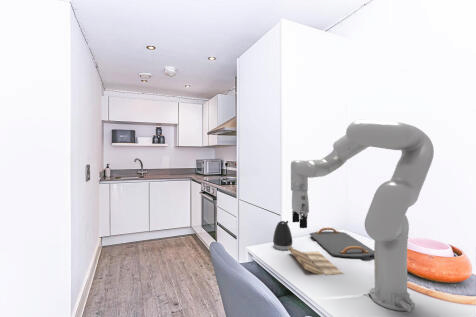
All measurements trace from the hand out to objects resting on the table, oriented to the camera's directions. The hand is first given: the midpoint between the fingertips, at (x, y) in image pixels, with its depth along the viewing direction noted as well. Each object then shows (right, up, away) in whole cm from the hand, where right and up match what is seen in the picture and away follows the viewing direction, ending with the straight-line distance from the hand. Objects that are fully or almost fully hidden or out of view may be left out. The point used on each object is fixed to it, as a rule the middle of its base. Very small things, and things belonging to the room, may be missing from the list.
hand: (299, 224), depth 110 cm
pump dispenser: (-4, -19, +18) cm, 27 cm away
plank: (+2, -16, -1) cm, 16 cm away
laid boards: (+10, -18, 0) cm, 21 cm away
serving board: (+28, -19, +22) cm, 40 cm away
